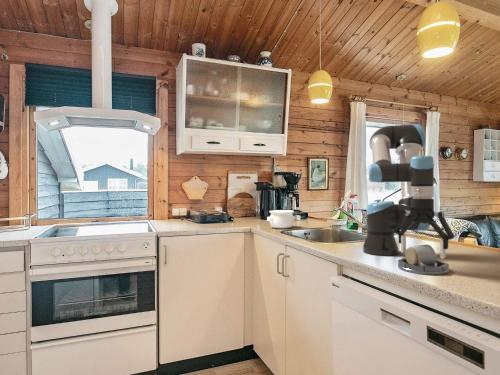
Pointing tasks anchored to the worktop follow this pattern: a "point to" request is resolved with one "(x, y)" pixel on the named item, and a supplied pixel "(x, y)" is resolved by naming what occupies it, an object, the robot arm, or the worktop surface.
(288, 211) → the pot
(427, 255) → the ceramic mug
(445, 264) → the ring plate
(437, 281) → the worktop surface
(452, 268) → the worktop surface
